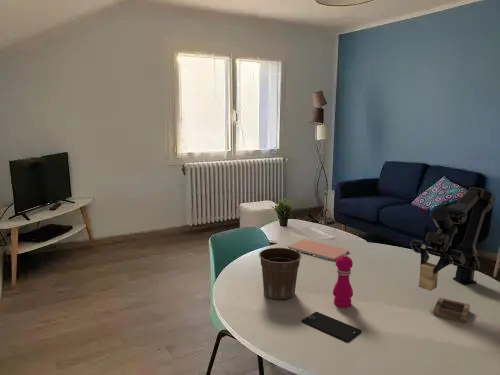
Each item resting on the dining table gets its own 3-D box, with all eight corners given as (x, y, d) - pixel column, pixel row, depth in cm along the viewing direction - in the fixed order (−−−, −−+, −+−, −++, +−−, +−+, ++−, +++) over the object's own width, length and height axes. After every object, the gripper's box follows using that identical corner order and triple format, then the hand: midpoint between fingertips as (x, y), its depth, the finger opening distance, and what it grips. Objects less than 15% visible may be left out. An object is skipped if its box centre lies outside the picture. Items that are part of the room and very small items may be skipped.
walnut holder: (438, 303, 148) (439, 297, 148) (469, 311, 143) (469, 304, 142) (433, 314, 140) (434, 308, 140) (465, 323, 135) (466, 316, 134)
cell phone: (316, 313, 142) (316, 311, 142) (362, 332, 130) (362, 330, 130) (300, 322, 136) (300, 320, 136) (347, 343, 124) (347, 341, 123)
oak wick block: (424, 283, 150) (426, 262, 149) (436, 287, 147) (438, 265, 145) (418, 286, 148) (420, 265, 146) (430, 291, 144) (432, 268, 142)
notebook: (286, 250, 207) (286, 246, 207) (304, 242, 220) (304, 238, 219) (332, 262, 190) (333, 258, 189) (349, 253, 202) (349, 249, 202)
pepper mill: (353, 300, 151) (355, 250, 147) (351, 309, 144) (354, 256, 140) (333, 297, 153) (335, 248, 149) (331, 306, 146) (333, 254, 143)
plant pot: (305, 289, 161) (306, 250, 158) (292, 306, 146) (293, 265, 143) (268, 282, 168) (268, 245, 165) (252, 298, 153) (252, 258, 150)
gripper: (414, 218, 152) (396, 252, 148) (465, 229, 138) (447, 267, 133) (423, 234, 159) (406, 267, 154) (472, 246, 144) (455, 283, 140)
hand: (427, 271), depth 145 cm, fingers closed on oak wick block, 4 cm apart
